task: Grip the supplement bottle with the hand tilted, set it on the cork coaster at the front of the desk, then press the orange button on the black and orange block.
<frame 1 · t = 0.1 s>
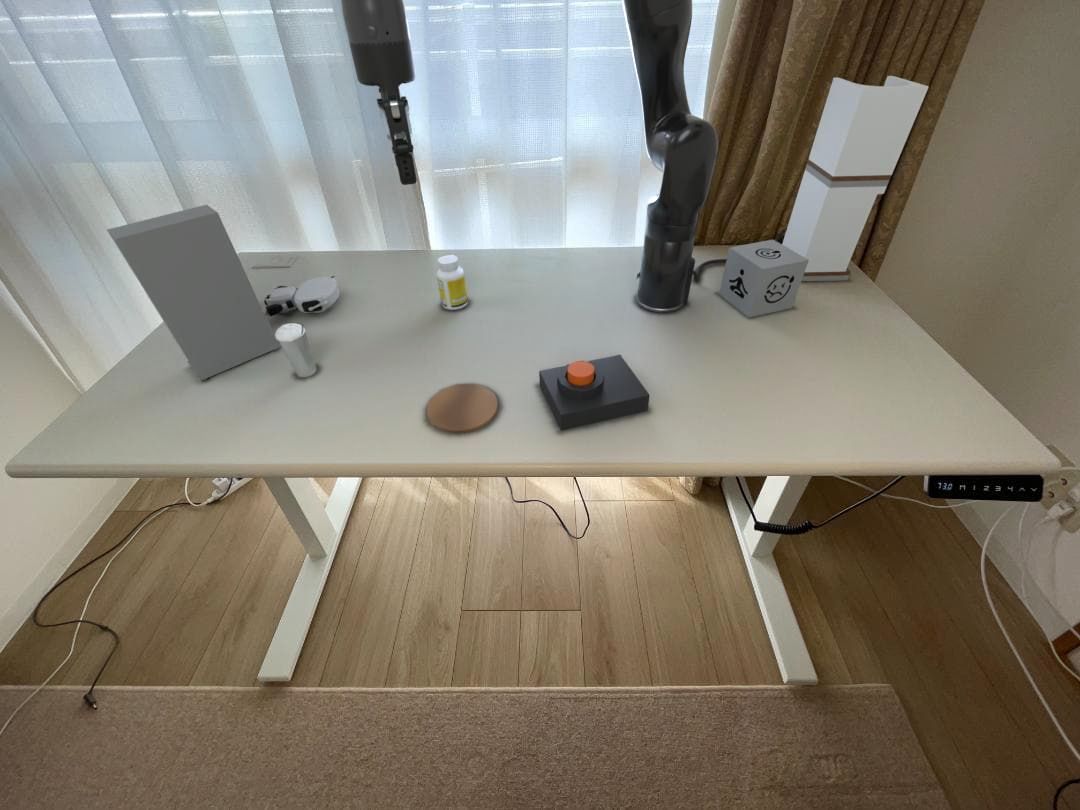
hand: (406, 175, 72), 29 cm above the table, tool pointing down, fingers open, 8 cm apart
coaster: (462, 408, 77), on the table
orange button: (580, 373, 74), point 5 cm above the table, slide at 0.1 cm
robot toy: (306, 308, 102), on the table
icon cube: (754, 301, 99), on the table
white striped pillar: (810, 269, 109), on the table
supplement bottle: (455, 304, 101), on the table
tall grey upright panel: (237, 358, 89), on the table
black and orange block: (591, 398, 78), on the table
milkshake: (309, 373, 85), on the table
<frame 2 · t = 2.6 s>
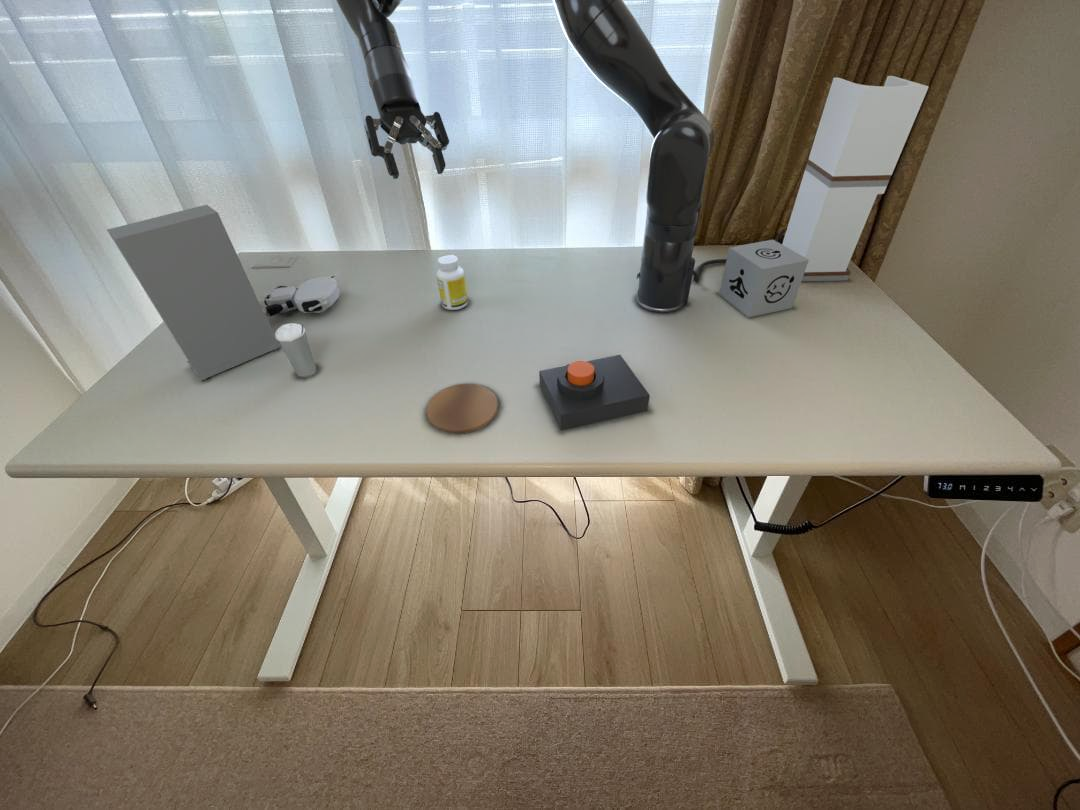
hand: (419, 174, 90), 24 cm above the table, tool tilted 35°, fingers open, 8 cm apart
nothing on the table moved.
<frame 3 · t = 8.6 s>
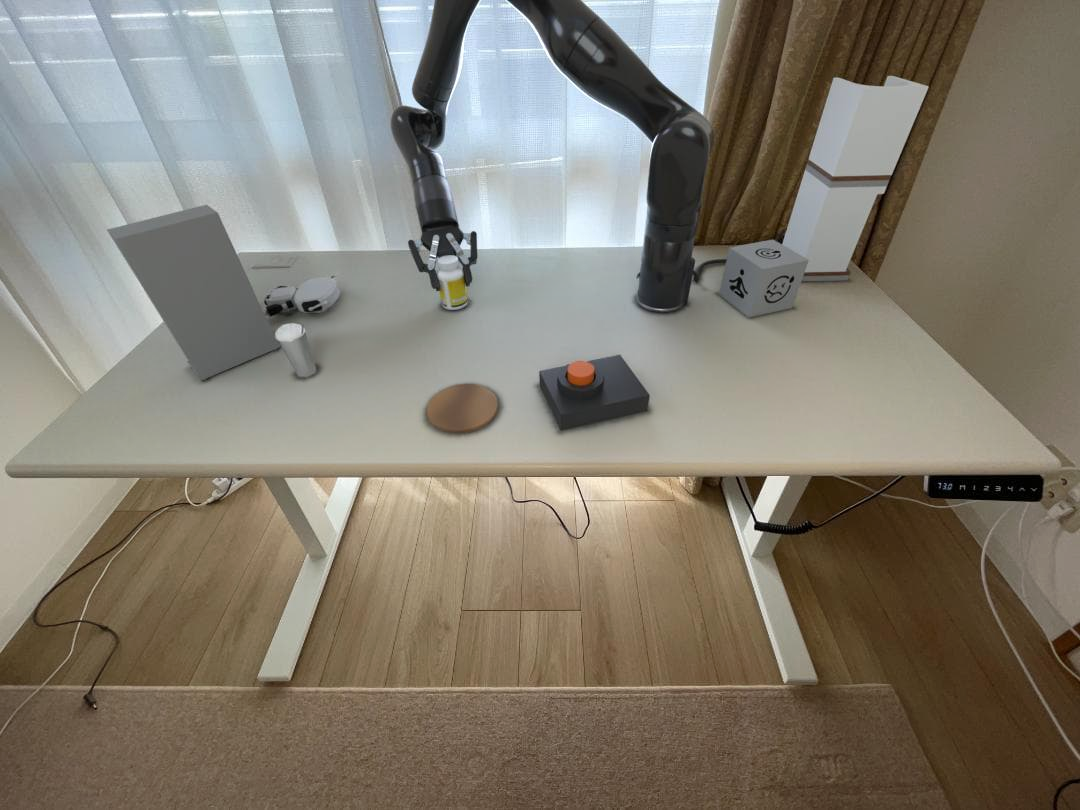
hand: (453, 287, 97), 5 cm above the table, tool tilted 45°, fingers closed on supplement bottle, 5 cm apart
supplement bottle: (455, 304, 101), on the table, touching gripper
everything else where it was.
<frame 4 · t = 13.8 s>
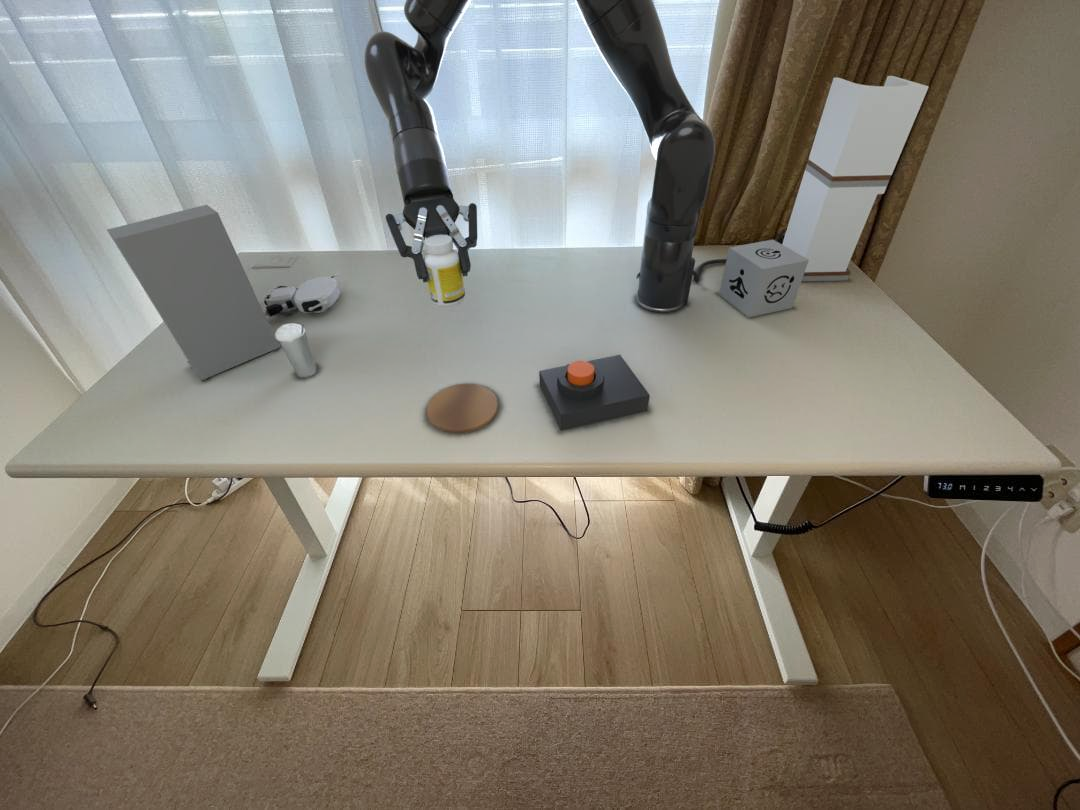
hand: (445, 277, 74), 17 cm above the table, tool tilted 45°, fingers closed on supplement bottle, 5 cm apart
supplement bottle: (448, 300, 78), point 12 cm above the table, touching gripper
everything else where it was.
when the fingers open (5 cm above the table, at t = 19.1 s): supplement bottle stays where it is, resting on coaster.
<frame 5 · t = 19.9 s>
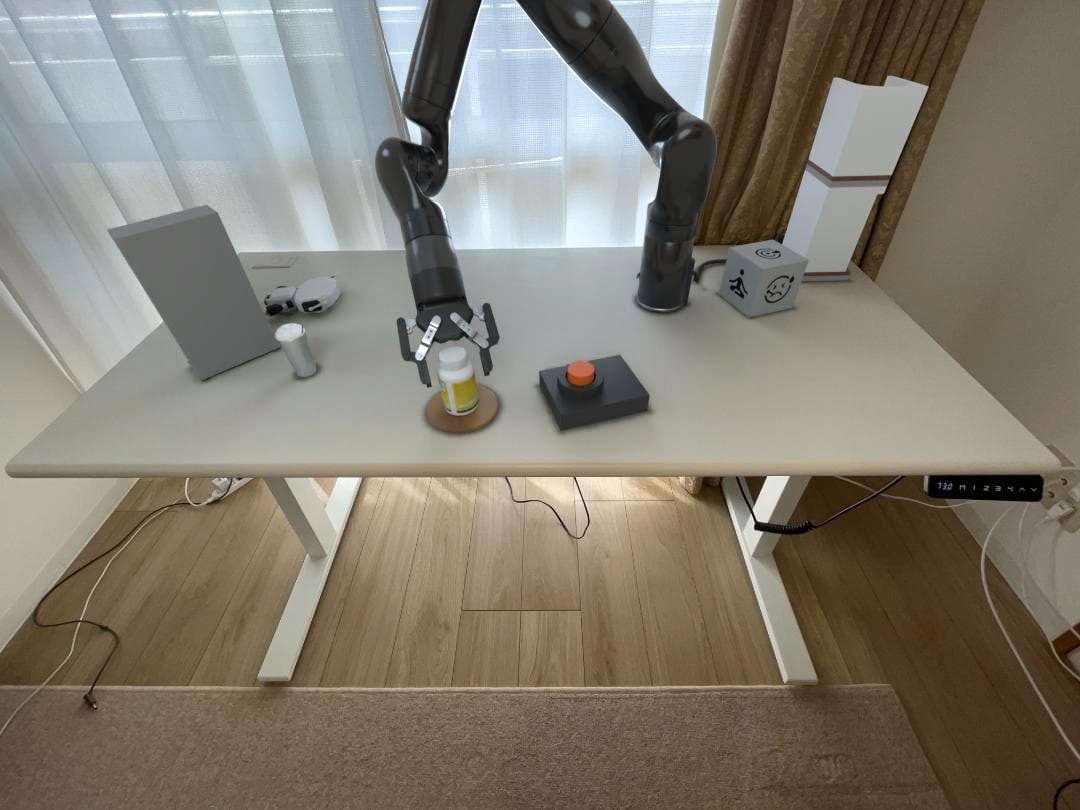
hand: (458, 380, 71), 6 cm above the table, tool tilted 45°, fingers open, 8 cm apart
supplement bottle: (462, 406, 76), resting on coaster
everything else where it was.
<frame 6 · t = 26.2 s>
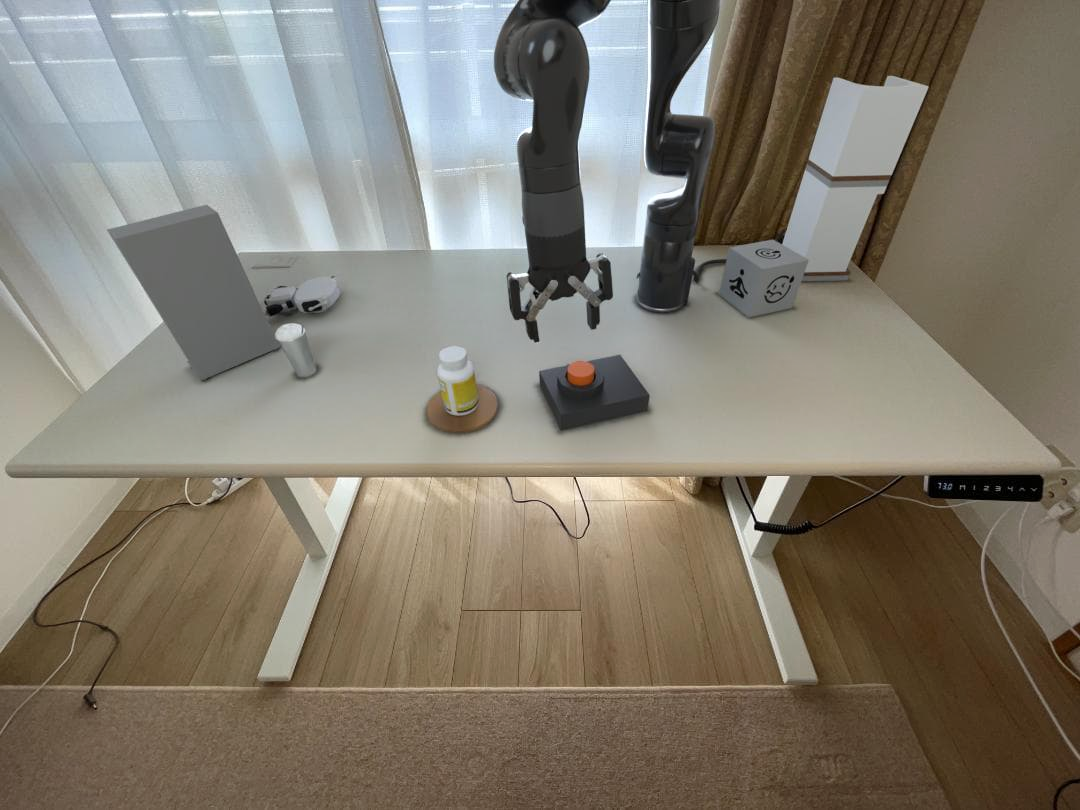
hand: (564, 333, 71), 12 cm above the table, tool pointing down, fingers open, 8 cm apart
nothing on the table moved.
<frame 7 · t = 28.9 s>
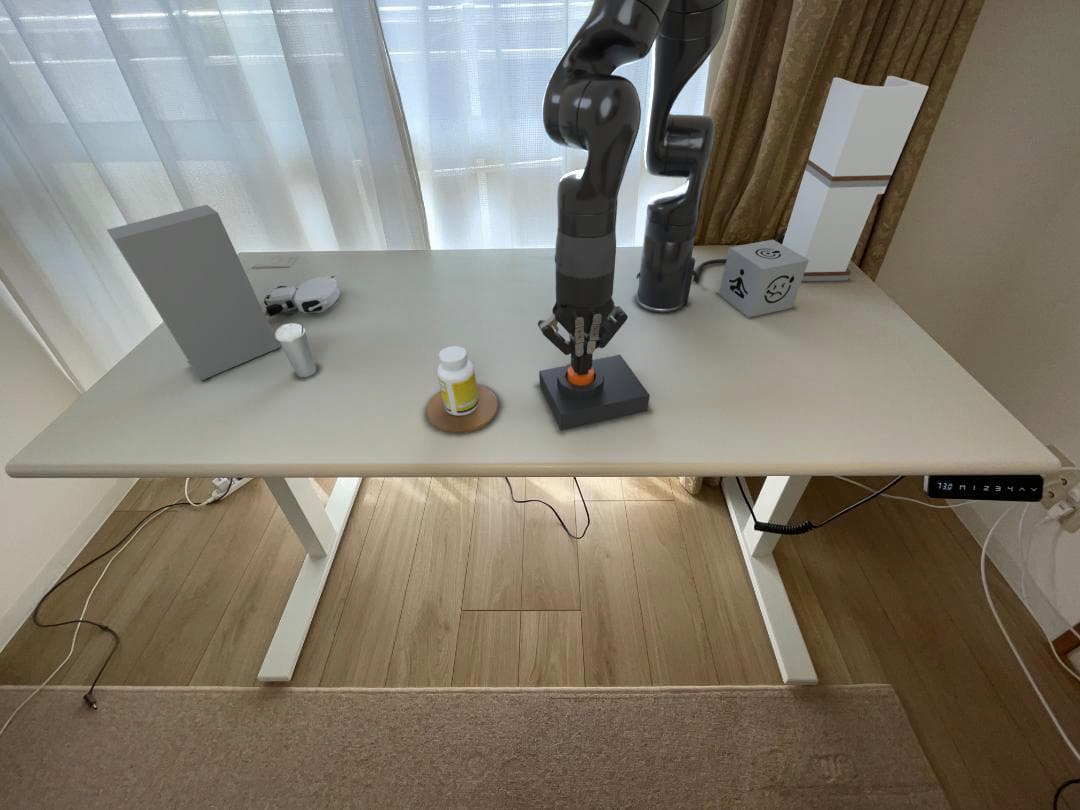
hand: (581, 371, 73), 6 cm above the table, tool pointing down, fingers closed
orange button: (580, 375, 74), point 5 cm above the table, slide at -0.3 cm, touching gripper
everything else where it was.
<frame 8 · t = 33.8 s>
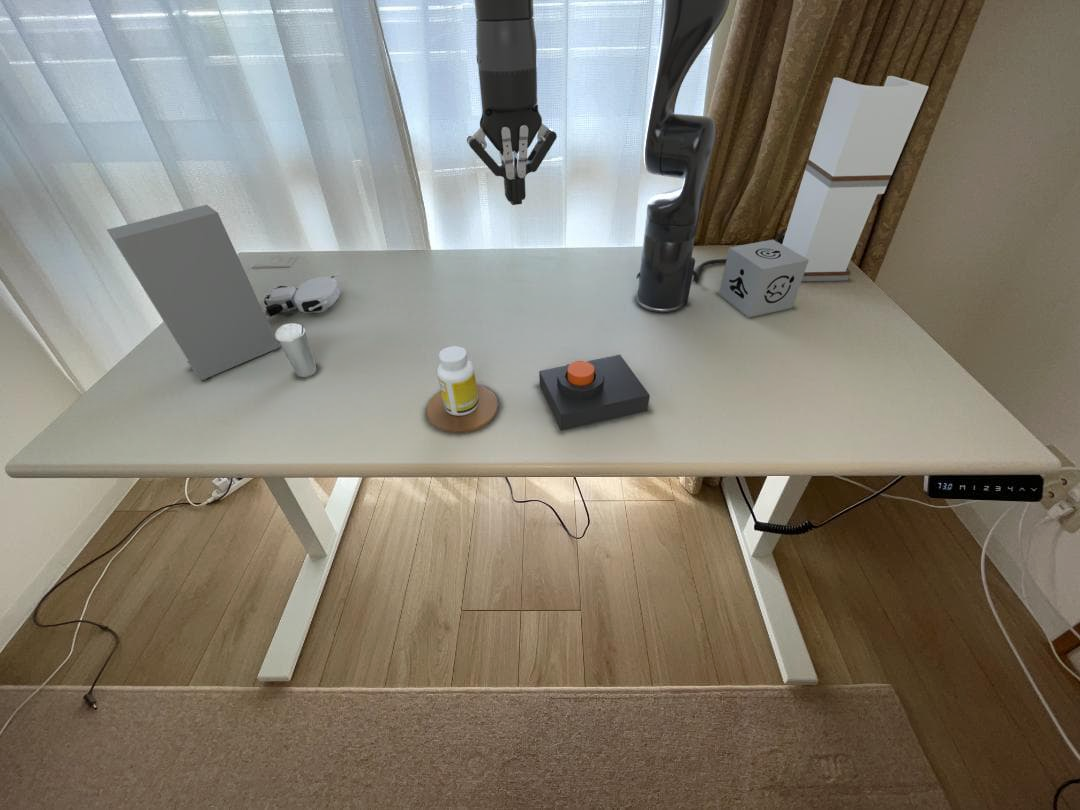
hand: (515, 202, 74), 25 cm above the table, tool pointing down, fingers closed
orange button: (580, 373, 74), point 5 cm above the table, slide at 0.1 cm
everything else where it was.
at the end: supplement bottle 0.2 cm off-centre on the coaster, point 0.4 cm above the coaster's base; supplement bottle tilted 0°; orange button pushed in 1.2 cm at the most during the clip, back to where it started at the end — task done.
